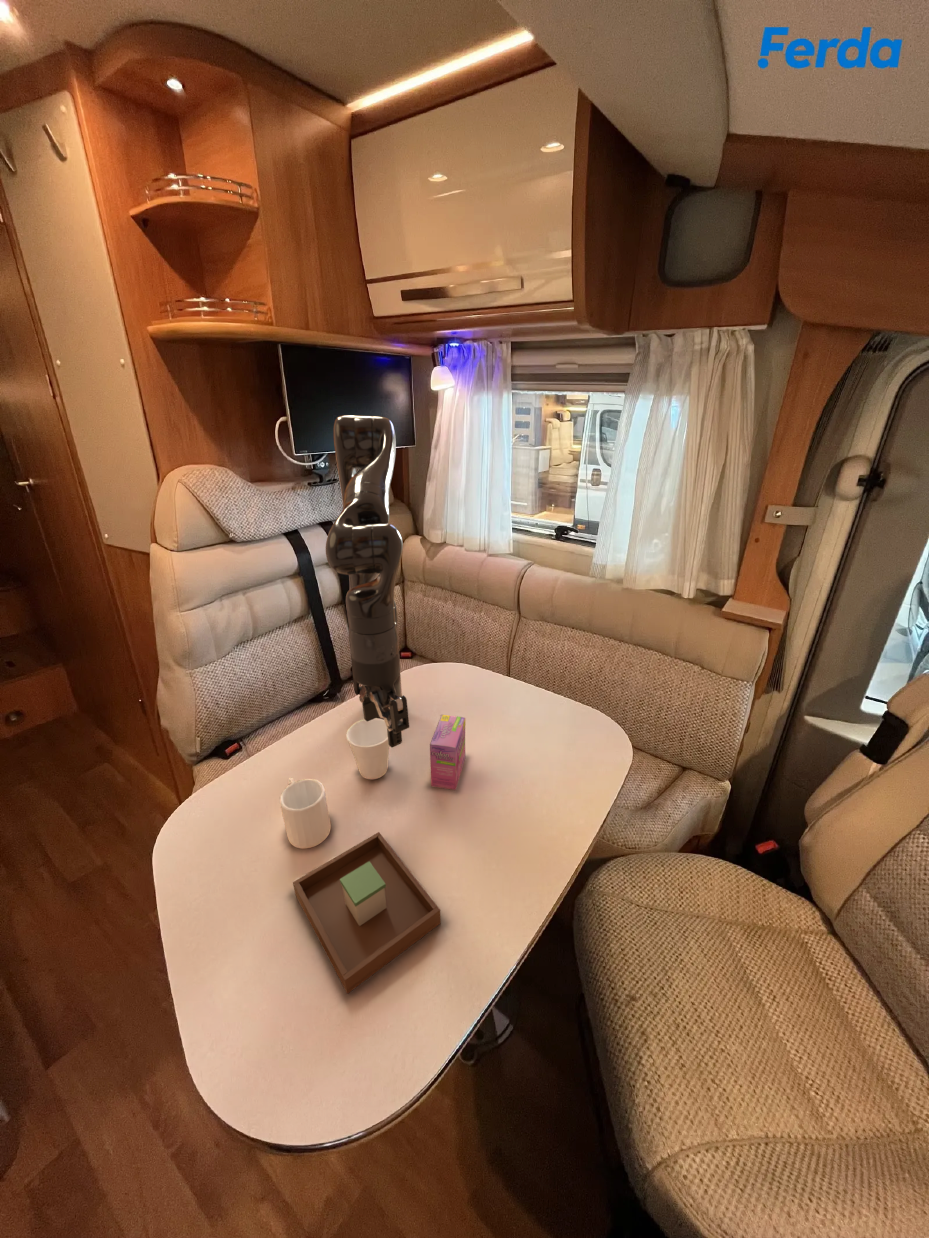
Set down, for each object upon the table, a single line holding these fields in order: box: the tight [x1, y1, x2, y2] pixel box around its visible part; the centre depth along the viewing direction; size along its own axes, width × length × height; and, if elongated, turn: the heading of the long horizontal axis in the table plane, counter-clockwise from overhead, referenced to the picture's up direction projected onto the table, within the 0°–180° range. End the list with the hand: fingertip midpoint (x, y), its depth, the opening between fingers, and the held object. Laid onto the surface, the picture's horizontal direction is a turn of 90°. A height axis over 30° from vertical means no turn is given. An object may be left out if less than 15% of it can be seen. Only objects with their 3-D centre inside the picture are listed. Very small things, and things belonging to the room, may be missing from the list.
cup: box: [345, 718, 391, 780], centre depth 110 cm, size 10×10×11 cm
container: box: [340, 861, 387, 926], centre depth 81 cm, size 5×5×6 cm
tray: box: [292, 831, 442, 995], centre depth 82 cm, size 20×17×3 cm
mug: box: [279, 777, 332, 849], centre depth 97 cm, size 8×12×10 cm
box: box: [429, 714, 466, 791], centre depth 109 cm, size 10×6×12 cm, turn 168°
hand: (382, 731), depth 85 cm, fingers open, 8 cm apart
